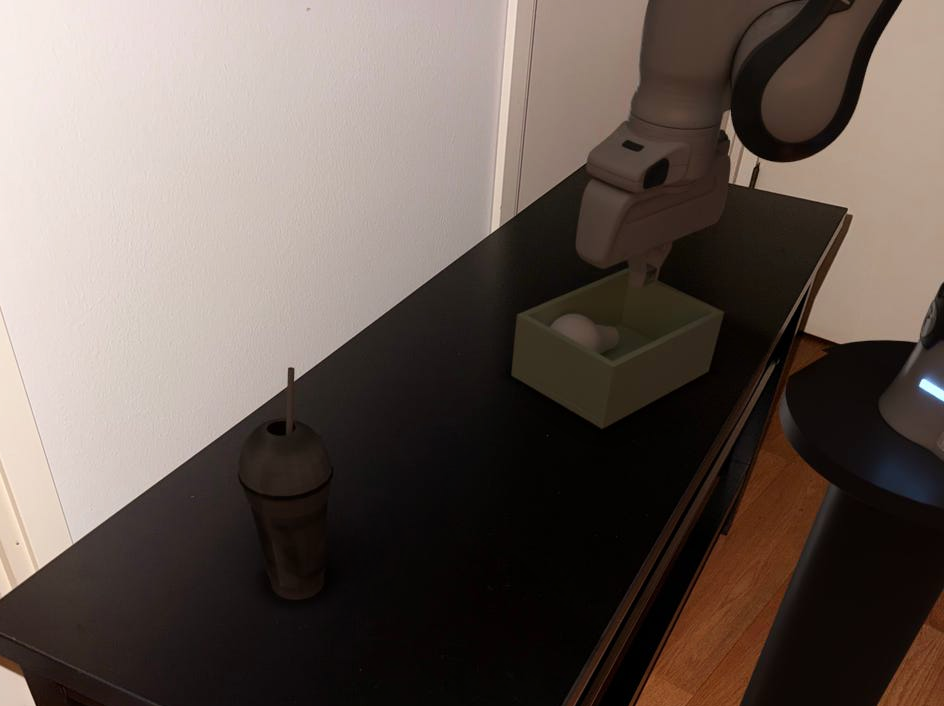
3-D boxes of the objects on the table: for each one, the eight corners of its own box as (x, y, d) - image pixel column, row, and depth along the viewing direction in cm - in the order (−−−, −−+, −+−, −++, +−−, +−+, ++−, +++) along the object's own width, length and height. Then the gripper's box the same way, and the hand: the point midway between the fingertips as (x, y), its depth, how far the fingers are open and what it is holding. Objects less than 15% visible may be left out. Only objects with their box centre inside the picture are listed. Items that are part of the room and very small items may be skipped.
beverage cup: (242, 568, 81) (207, 358, 67) (320, 544, 84) (303, 337, 70) (273, 622, 77) (243, 410, 63) (354, 594, 80) (344, 385, 65)
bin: (618, 325, 115) (629, 266, 110) (708, 371, 108) (724, 311, 103) (510, 375, 106) (516, 314, 100) (602, 429, 99) (613, 366, 94)
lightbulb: (622, 298, 106) (562, 304, 99) (645, 346, 106) (587, 356, 99) (584, 327, 111) (525, 335, 104) (606, 374, 111) (548, 385, 103)
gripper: (707, 116, 98) (678, 248, 108) (575, 158, 88) (556, 299, 98) (757, 134, 95) (723, 268, 105) (626, 179, 85) (602, 322, 95)
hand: (642, 283), depth 101 cm, fingers closed
